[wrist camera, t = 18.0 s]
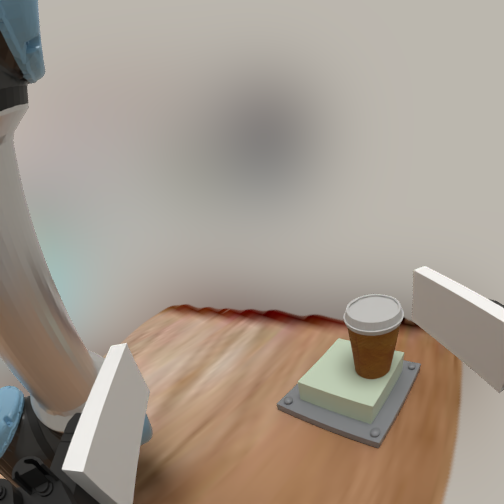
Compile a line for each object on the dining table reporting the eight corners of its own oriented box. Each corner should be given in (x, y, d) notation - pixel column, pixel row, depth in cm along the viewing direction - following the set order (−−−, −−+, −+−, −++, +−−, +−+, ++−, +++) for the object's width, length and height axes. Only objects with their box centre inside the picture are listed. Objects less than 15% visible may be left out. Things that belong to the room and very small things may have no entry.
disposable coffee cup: (386, 344, 49) (387, 287, 46) (408, 375, 40) (415, 313, 37) (339, 358, 49) (335, 301, 46) (355, 392, 40) (355, 331, 37)
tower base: (277, 409, 48) (272, 386, 46) (334, 349, 61) (332, 327, 59) (378, 448, 34) (382, 426, 32) (419, 369, 47) (423, 345, 45)
